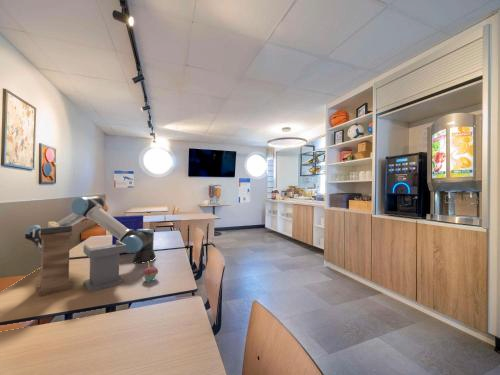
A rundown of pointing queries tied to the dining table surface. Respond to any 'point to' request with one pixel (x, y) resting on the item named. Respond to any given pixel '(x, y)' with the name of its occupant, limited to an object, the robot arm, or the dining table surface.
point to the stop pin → (55, 228)
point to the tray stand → (104, 266)
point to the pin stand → (54, 263)
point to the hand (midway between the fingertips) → (50, 229)
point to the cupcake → (150, 273)
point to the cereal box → (129, 224)
